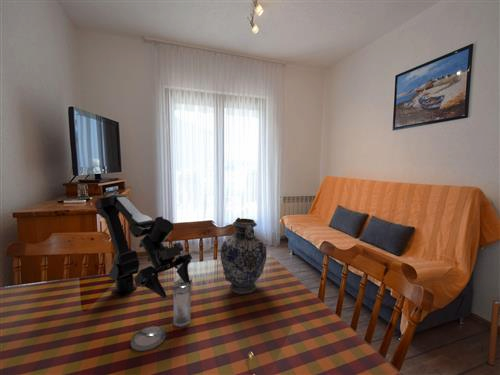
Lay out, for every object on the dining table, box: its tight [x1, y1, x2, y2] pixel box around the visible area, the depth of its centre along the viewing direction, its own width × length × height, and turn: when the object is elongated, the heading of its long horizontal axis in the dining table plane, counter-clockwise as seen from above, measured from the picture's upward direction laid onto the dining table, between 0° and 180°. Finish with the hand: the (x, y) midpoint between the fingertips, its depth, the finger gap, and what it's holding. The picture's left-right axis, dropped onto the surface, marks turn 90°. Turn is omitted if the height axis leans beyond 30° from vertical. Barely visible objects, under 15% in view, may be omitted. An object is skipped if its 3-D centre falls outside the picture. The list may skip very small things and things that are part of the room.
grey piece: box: [172, 282, 192, 328], centre depth 72 cm, size 5×5×12 cm
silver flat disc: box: [130, 326, 167, 353], centre depth 65 cm, size 9×9×1 cm
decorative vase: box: [220, 217, 267, 295], centre depth 93 cm, size 21×19×28 cm
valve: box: [173, 256, 193, 286], centre depth 94 cm, size 7×7×12 cm
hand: (177, 291), depth 73 cm, fingers open, 9 cm apart
